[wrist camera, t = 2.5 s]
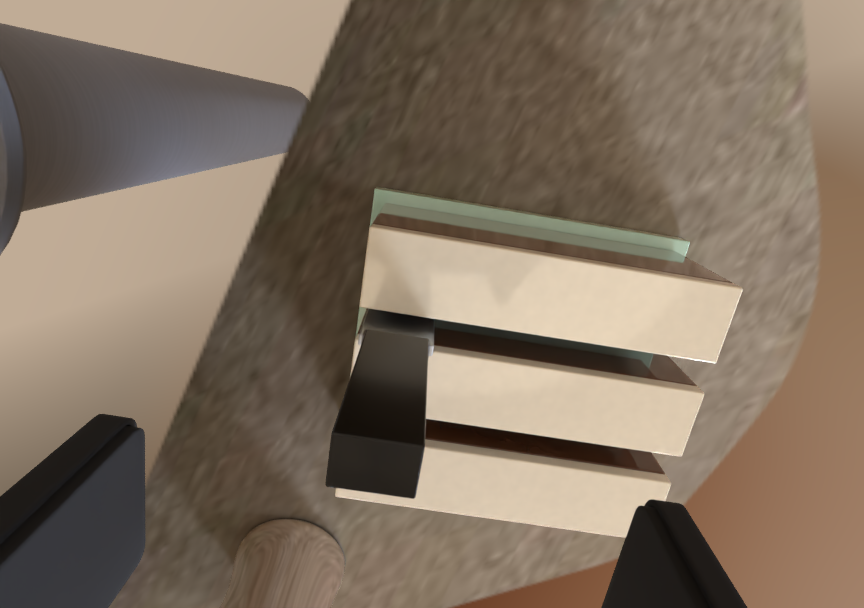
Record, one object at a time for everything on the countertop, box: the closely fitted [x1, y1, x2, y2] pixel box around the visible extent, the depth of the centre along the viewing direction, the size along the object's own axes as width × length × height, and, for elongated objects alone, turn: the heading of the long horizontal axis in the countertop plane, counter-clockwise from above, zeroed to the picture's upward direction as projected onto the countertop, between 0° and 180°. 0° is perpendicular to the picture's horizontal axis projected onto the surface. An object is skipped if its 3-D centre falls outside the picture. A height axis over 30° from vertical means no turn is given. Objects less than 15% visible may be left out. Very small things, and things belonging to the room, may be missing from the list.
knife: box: [326, 309, 434, 499], centre depth 18 cm, size 2×1×14 cm, turn 80°
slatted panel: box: [335, 187, 743, 538], centre depth 23 cm, size 14×12×6 cm
